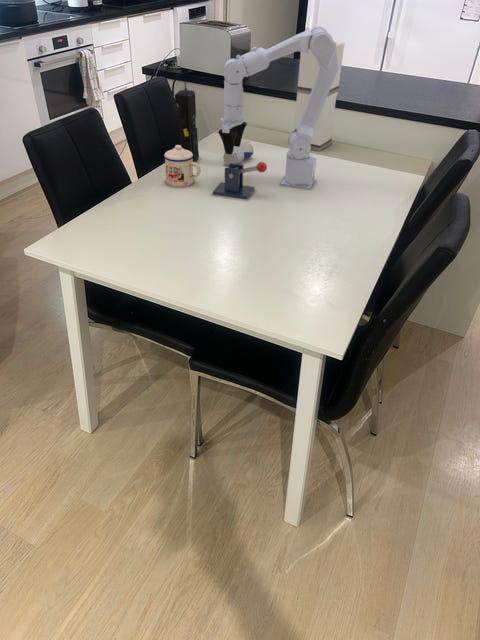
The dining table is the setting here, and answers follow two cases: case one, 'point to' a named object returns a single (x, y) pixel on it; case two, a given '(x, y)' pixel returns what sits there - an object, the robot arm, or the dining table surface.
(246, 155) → the energy drink
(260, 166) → the lever
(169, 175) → the teacup with lid
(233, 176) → the bracket
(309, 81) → the tall banded cream box
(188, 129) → the portable radio
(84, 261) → the dining table surface
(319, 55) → the robot arm
